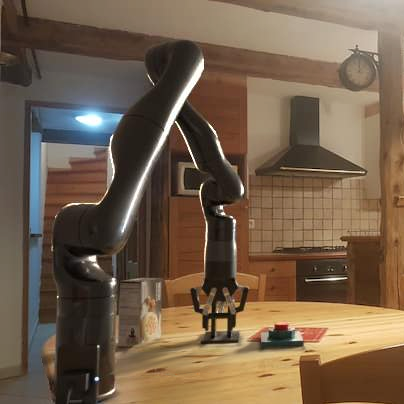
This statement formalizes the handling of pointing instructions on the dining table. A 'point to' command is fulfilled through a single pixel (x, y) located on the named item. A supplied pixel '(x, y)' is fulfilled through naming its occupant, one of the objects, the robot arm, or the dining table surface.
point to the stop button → (281, 326)
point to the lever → (220, 311)
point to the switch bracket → (220, 336)
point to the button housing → (281, 338)
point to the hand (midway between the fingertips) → (219, 329)
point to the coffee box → (139, 311)
